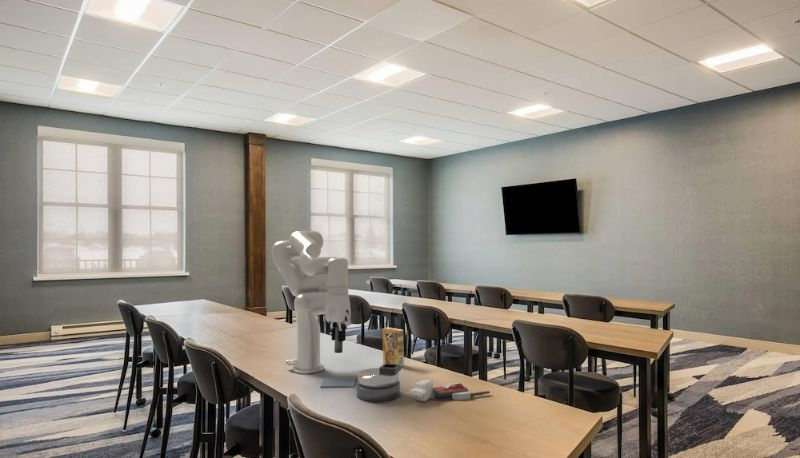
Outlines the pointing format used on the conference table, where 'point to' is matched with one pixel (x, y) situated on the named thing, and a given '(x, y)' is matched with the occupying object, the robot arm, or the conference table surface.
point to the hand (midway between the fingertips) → (338, 340)
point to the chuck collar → (380, 377)
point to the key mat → (337, 382)
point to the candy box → (393, 346)
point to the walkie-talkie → (454, 392)
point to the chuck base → (378, 394)
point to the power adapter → (422, 390)
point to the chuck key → (338, 345)
